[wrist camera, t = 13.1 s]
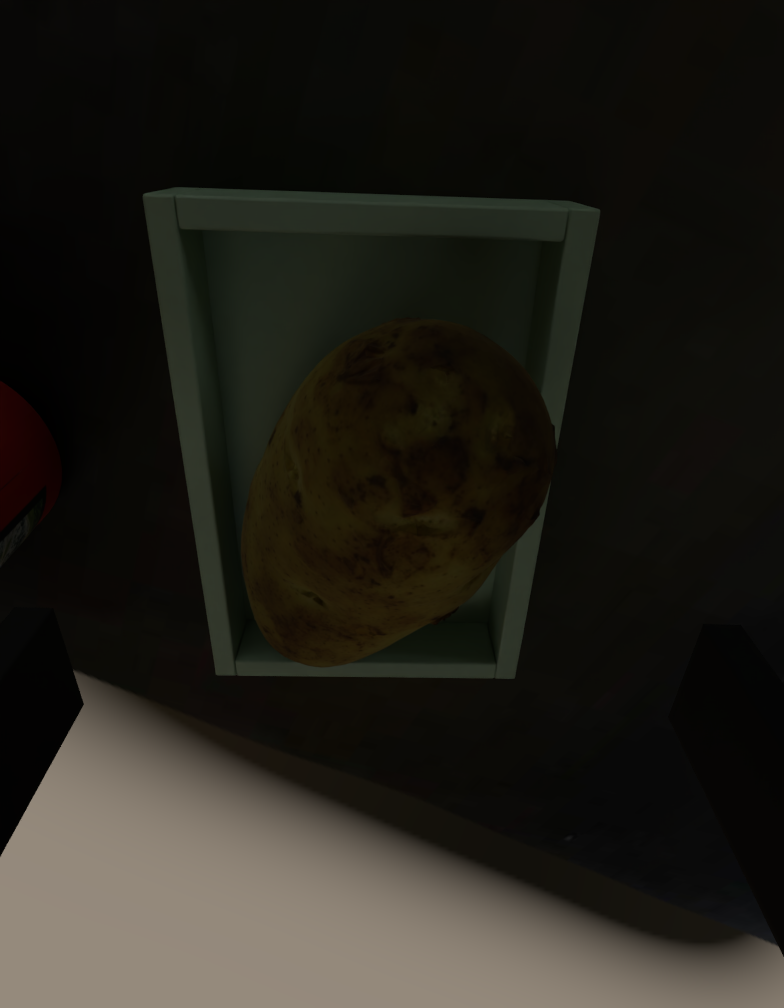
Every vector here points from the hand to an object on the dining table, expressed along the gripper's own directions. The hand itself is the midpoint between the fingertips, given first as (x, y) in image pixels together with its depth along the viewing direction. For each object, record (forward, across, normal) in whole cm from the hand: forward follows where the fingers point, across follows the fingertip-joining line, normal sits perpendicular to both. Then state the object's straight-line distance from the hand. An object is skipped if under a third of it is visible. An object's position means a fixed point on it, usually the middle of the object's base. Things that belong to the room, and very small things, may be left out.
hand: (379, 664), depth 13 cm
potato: (+10, +1, 0) cm, 10 cm away
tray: (+11, 0, 0) cm, 11 cm away
